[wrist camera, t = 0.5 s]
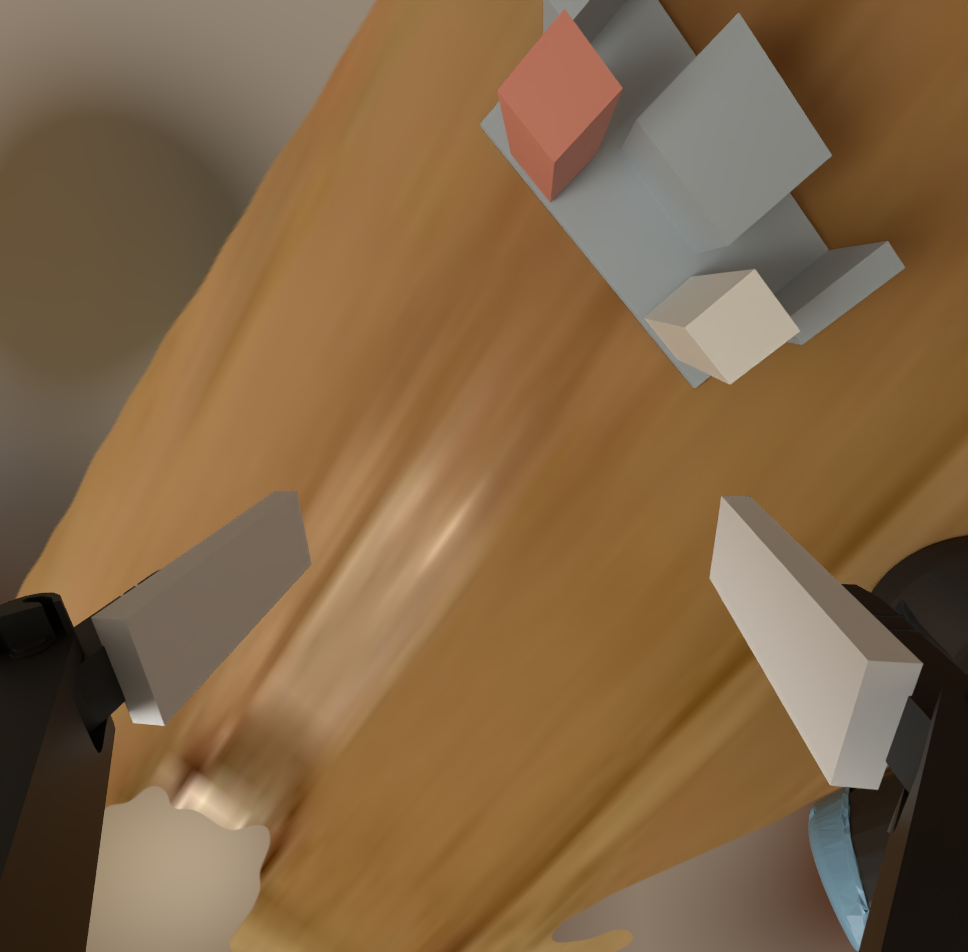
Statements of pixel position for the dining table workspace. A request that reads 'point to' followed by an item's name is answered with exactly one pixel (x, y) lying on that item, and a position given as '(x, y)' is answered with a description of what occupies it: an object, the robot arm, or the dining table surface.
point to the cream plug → (722, 323)
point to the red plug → (558, 106)
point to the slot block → (700, 173)
